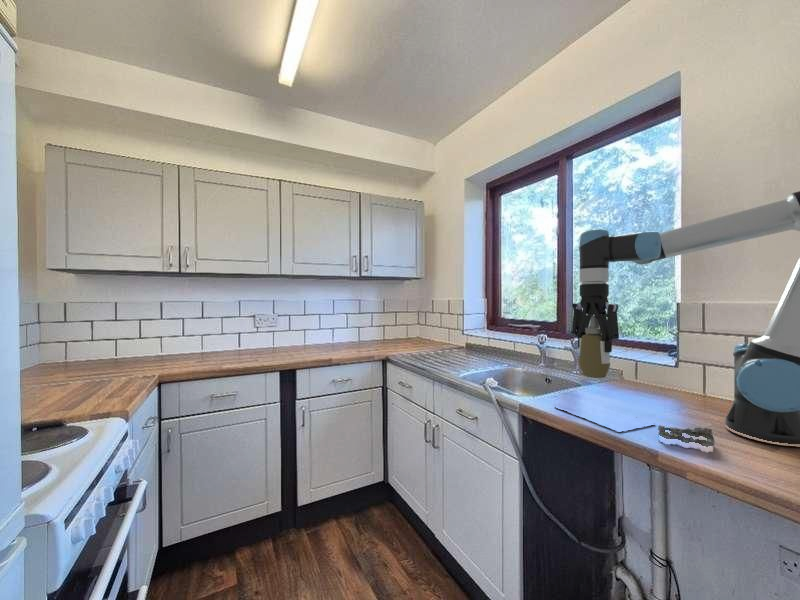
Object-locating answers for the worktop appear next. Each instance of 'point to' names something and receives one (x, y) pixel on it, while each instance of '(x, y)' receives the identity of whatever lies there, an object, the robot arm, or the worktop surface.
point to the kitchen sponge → (697, 432)
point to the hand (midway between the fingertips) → (594, 361)
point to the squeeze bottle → (592, 352)
